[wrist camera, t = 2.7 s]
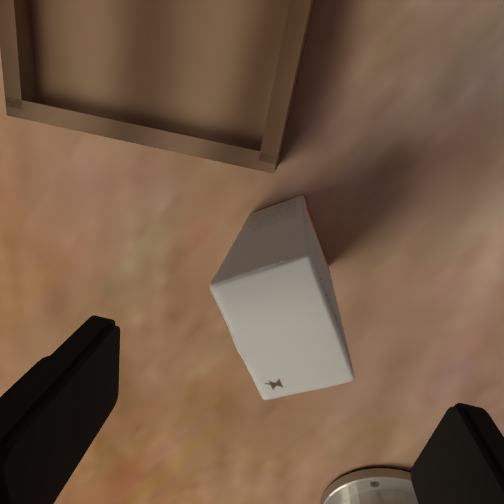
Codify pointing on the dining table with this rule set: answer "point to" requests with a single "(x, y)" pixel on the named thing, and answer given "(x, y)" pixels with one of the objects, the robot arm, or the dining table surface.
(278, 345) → the skincare box
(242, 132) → the wooden tray
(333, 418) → the dining table surface
